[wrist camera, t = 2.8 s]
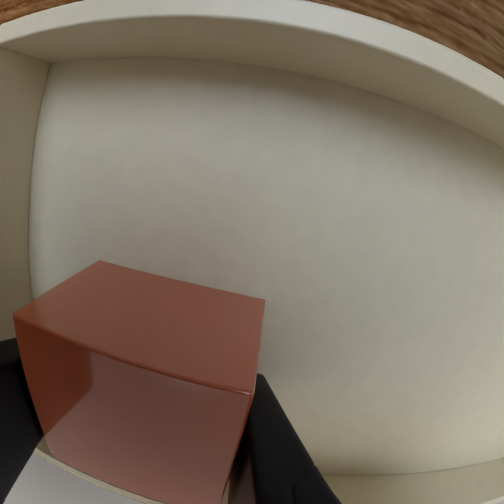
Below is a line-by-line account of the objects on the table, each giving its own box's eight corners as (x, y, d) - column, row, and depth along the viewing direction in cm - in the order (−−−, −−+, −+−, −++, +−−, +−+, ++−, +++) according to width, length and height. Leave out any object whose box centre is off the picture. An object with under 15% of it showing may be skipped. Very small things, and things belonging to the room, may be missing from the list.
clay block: (103, 385, 9) (52, 456, 6) (99, 258, 8) (10, 313, 4) (234, 424, 9) (217, 515, 5) (266, 298, 8) (254, 394, 4)
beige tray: (48, 398, 10) (12, 440, 7) (52, 51, 7) (-13, 28, 4) (500, 457, 10) (520, 494, 7) (613, 216, 6) (656, 232, 3)
